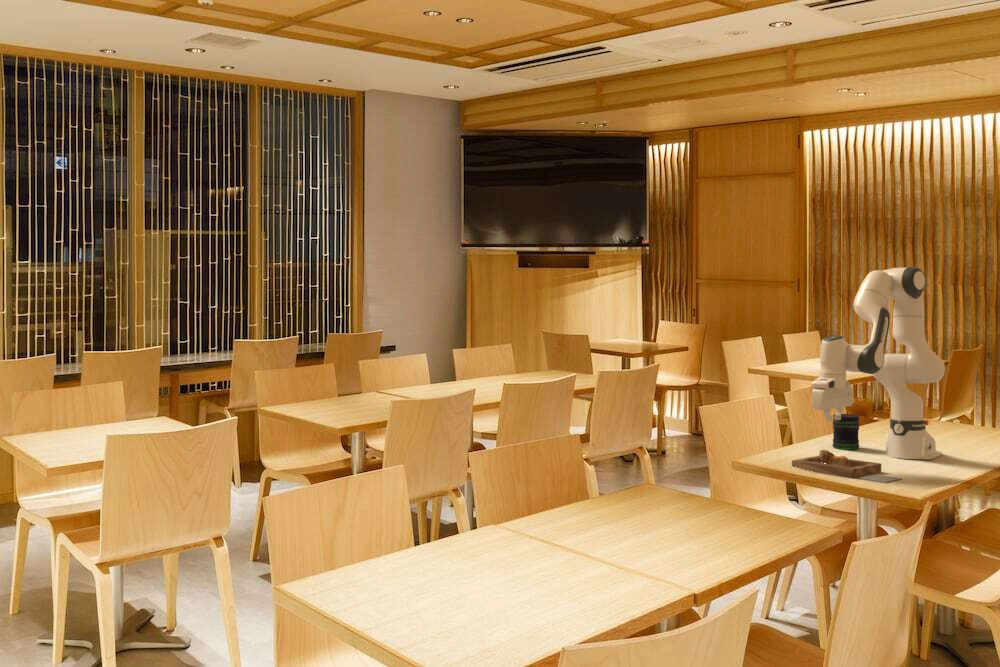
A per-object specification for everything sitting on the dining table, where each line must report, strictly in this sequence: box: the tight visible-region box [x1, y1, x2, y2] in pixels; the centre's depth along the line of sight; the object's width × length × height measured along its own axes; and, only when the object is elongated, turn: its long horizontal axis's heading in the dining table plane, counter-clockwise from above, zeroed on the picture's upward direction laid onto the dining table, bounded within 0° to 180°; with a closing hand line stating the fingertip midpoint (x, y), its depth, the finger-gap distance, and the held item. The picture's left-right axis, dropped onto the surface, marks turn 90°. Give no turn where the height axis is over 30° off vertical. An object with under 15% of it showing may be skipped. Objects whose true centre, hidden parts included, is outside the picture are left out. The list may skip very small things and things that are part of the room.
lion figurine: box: [818, 449, 851, 468], centre depth 338 cm, size 12×4×7 cm, turn 60°
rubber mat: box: [857, 473, 903, 484], centre depth 322 cm, size 10×10×1 cm
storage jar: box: [832, 413, 860, 451], centre depth 376 cm, size 10×10×15 cm
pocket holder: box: [791, 455, 882, 479], centre depth 339 cm, size 18×24×3 cm
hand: (833, 420), depth 339 cm, fingers open, 4 cm apart
